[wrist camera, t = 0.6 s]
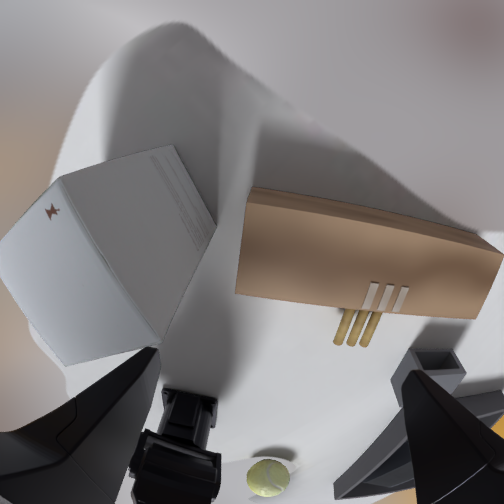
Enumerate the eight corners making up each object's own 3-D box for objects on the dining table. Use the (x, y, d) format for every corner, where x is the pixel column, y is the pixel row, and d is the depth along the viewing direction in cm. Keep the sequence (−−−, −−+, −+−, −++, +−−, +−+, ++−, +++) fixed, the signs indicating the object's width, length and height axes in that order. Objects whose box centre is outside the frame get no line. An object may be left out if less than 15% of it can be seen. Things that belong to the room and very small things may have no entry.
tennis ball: (267, 504, 33) (296, 496, 30) (232, 492, 32) (259, 483, 30) (273, 474, 39) (300, 463, 36) (242, 460, 38) (267, 448, 36)
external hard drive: (471, 426, 33) (478, 442, 29) (385, 475, 40) (388, 491, 36) (453, 408, 30) (462, 429, 26) (351, 465, 37) (353, 485, 33)
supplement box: (101, 188, 21) (-17, 252, 9) (174, 141, 19) (58, 171, 8) (144, 264, 24) (62, 370, 12) (220, 230, 22) (166, 346, 10)
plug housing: (432, 377, 28) (444, 402, 24) (390, 379, 28) (399, 407, 24) (451, 348, 26) (466, 373, 22) (408, 347, 26) (421, 376, 22)
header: (433, 334, 25) (450, 364, 20) (235, 314, 25) (227, 350, 21) (476, 234, 20) (505, 255, 16) (252, 186, 20) (246, 202, 16)
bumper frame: (420, 471, 41) (423, 485, 37) (333, 483, 41) (334, 499, 37) (501, 390, 29) (510, 406, 25) (405, 403, 29) (413, 427, 26)
